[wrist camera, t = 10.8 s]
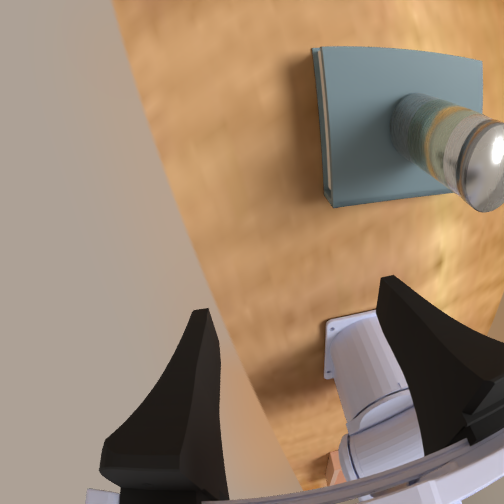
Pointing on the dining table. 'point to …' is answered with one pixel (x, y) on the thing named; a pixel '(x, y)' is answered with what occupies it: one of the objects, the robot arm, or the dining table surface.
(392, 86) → the hardcover book
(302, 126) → the dining table surface
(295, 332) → the dining table surface
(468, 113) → the tea tin
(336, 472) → the open box
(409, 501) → the robot arm
